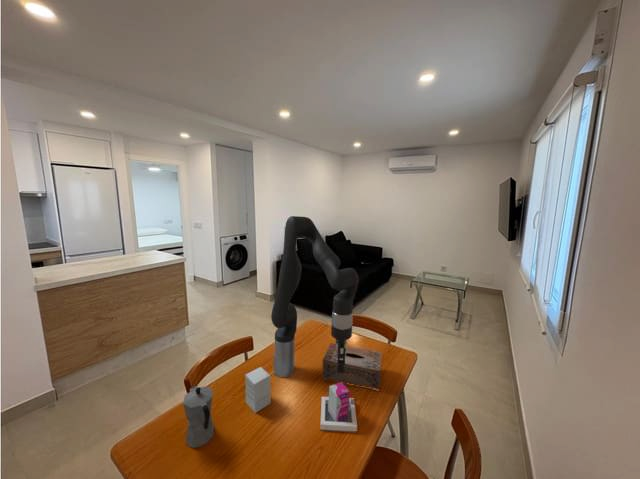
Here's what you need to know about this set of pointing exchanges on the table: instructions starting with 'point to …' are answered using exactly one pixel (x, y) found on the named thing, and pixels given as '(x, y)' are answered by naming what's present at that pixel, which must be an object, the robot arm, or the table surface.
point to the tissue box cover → (354, 366)
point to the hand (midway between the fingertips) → (339, 364)
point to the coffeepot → (199, 416)
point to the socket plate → (342, 425)
